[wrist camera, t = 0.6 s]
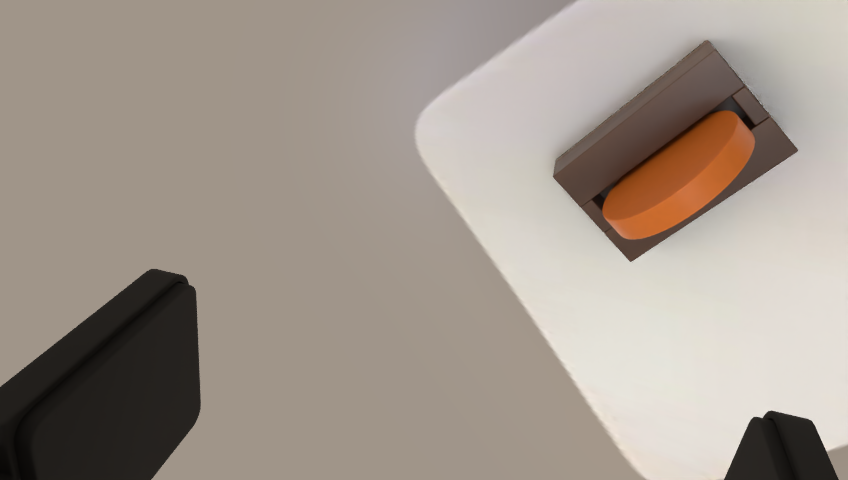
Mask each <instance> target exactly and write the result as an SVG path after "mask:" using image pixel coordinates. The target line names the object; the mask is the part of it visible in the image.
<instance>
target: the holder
mask: <svg viewBox="0 0 848 480" xmlns="http://www.w3.org/2000/svg"><path fill="white" fill-rule="evenodd" d="M724 110H726V111H732V112H734V113H736V114H737V115H738V116H739V118H740V119H741V120H742V121H743V123H744V124H745V125H746V126H747V127H748V129H749V130H750V131H751V132H752V133H753V135H754V138H755V145H754V149H753V152H752V154H751V156H750V158H749V160H748V162H747V163H746V165H745V166H744V168H743V169H742V170H741V171H740V173H739V174H738V175H737V176H736V177H735V179H734V180H733V181H732V182H731V183H730V184H729V185H728V186H727V187H726V188H725V189H724V190H723V191H722V192H721V193H720V194H718V195H717V196H716V197H715V198H714V199H713V200H711V201H710V202H709V203H708V204H706V205H705V206H704V207H703V208H701V209H700V210H698V211H697V212H696V213H694V214H693V215H691V216H690V217H688V218H687V219H685V220H683V221H682V222H680V223H678V224H676V225H675V226H673V227H671V228H669V229H667V230H665V231H663V232H660V233H658V234H655V235H652V236H649V237H646V238H642V239H626V238H623V237H622V236H620V234H619V233H618V232H617V231H616V230H615V229H614V228H613V227H612V226H611V225H610V223H609V222H608V221H607V220H606V219H605V218H604V216H603V213H602V209H603V205H604V202H605V200H606V197H607V196H608V194H609V192H610V191H611V189H612V188H613V186H614V185H615V184H616V182H617V181H618V180H619V179H620V178H621V177H622V176H623V175H625V174H626V173H627V172H629V171H630V170H631V169H633V168H634V167H635V166H637V165H638V164H639V163H641V162H642V161H643V160H645V159H646V158H648V157H649V156H650V155H652V154H653V153H654V152H656V151H657V150H658V149H660V148H661V147H662V146H664V145H665V144H667V143H668V142H669V141H671V140H672V139H673V138H675V137H676V136H677V135H679V134H680V133H681V132H683V131H684V130H685V129H687V128H688V127H690V126H691V125H692V124H694V123H695V122H696V121H698V120H699V119H700V118H702V117H703V116H705V115H707V114H710V113H714V112H718V111H724ZM797 151H798V149H797V148H796V147H795V146H794V144H793V143H792V142H791V141H790V139H789V138H788V137H787V136H786V135H785V133H784V132H783V131H782V130H781V128H780V127H779V126H778V125H777V124H776V122H775V121H774V120H773V119H772V117H771V116H770V115H769V114H768V113H767V111H766V110H765V109H764V108H763V106H762V105H761V104H760V103H759V102H758V100H757V99H756V98H755V97H754V95H753V94H752V93H751V92H750V91H749V89H748V88H747V87H746V86H745V84H744V83H743V82H742V81H741V79H740V78H739V77H738V76H737V75H736V73H735V72H734V71H733V70H732V68H731V67H730V66H729V65H728V64H727V62H726V61H725V60H724V59H723V57H722V56H721V55H720V54H719V53H718V51H717V50H716V49H715V48H714V47H713V45H712V44H711V43H710V42H709V41H708V40H706V41H705V42H704V43H702V44H701V45H700V46H699V47H697V48H696V49H695V50H694V51H692V52H691V53H690V54H689V55H687V56H686V57H685V58H684V59H682V60H681V61H680V62H679V63H677V64H676V65H675V66H674V67H672V68H671V69H670V70H668V71H667V72H666V73H665V74H663V75H662V76H661V77H660V78H658V79H657V80H656V81H655V82H653V83H652V84H651V85H650V86H648V87H647V88H646V89H645V90H643V91H642V92H641V93H640V94H638V95H637V96H636V97H635V98H633V99H632V100H631V101H630V102H628V103H627V104H626V105H624V106H623V107H622V108H621V109H619V110H618V111H617V112H616V113H614V114H613V115H612V116H611V117H609V118H608V119H607V120H606V121H604V122H603V123H602V124H601V125H599V126H598V127H597V128H596V129H594V130H593V131H592V132H591V133H589V134H588V135H587V136H585V137H584V138H583V139H582V140H580V141H579V142H578V143H577V144H575V145H574V146H573V147H572V148H570V149H569V150H568V151H567V152H565V153H564V154H563V155H562V156H560V157H559V158H558V159H557V160H556V161H555V167H554V173H553V178H554V179H555V180H556V181H557V182H558V183H559V184H560V185H561V186H562V187H563V189H564V190H565V191H566V192H567V193H568V194H569V195H570V196H571V197H572V198H573V199H574V201H575V202H576V203H577V204H578V205H579V206H580V207H581V208H582V209H583V210H584V211H585V213H586V214H587V215H588V216H589V217H590V218H591V219H592V220H593V221H594V222H595V223H596V225H597V226H598V227H599V228H600V229H601V230H602V231H603V232H604V233H605V235H606V236H607V237H608V238H609V239H610V240H611V241H612V242H613V243H614V244H615V245H616V247H617V248H618V249H619V250H620V251H621V252H622V253H623V254H624V255H625V256H626V258H627V259H628V260H629V261H630V262H632V261H633V260H635V259H636V258H638V257H639V256H641V255H642V254H644V253H645V252H647V251H648V250H650V249H651V248H653V247H654V246H656V245H657V244H659V243H660V242H662V241H663V240H665V239H666V238H668V237H669V236H671V235H672V234H674V233H675V232H677V231H678V230H680V229H681V228H683V227H684V226H686V225H687V224H689V223H690V222H692V221H693V220H695V219H696V218H698V217H699V216H701V215H702V214H704V213H705V212H707V211H708V210H710V209H711V208H713V207H714V206H716V205H717V204H719V203H720V202H722V201H724V200H725V199H727V198H728V197H730V196H731V195H733V194H734V193H736V192H737V191H739V190H740V189H742V188H743V187H745V186H746V185H748V184H749V183H751V182H752V181H754V180H755V179H757V178H758V177H760V176H761V175H763V174H764V173H766V172H767V171H769V170H770V169H772V168H773V167H775V166H776V165H778V164H779V163H781V162H782V161H784V160H785V159H787V158H788V157H790V156H791V155H793V154H794V153H796V152H797Z"/></svg>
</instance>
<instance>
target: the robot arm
mask: <svg viewBox="0 0 848 480" xmlns="http://www.w3.org/2000/svg"><path fill="white" fill-rule="evenodd" d="M200 403H201V402H200V378H199V353H198V328H197V305H196V291H195V288H194V287H192V286H190V285H189V284H188V280H187V278H186V277H185V276H183V275H179V274H175V273H171V272H166V271H162V270H158V269H151V270H149V271H147V272H146V273H144V274H143V275H142V276H140V277H139V278H138V279H137V280H135V281H134V282H133V283H132V284H130V285H129V286H128V287H127V288H125V289H124V290H123V291H121V292H120V293H119V294H118V295H116V296H115V297H114V298H113V299H111V300H110V301H109V302H108V303H106V304H105V305H104V306H103V307H101V308H100V309H99V310H97V311H96V312H95V313H93V314H92V315H91V316H90V317H88V318H87V319H86V320H85V321H83V322H82V323H81V324H80V325H78V326H77V327H76V328H74V329H73V330H72V331H71V332H69V333H68V334H67V335H66V336H64V337H63V338H62V339H61V340H59V341H58V342H57V343H56V344H54V345H53V346H52V347H50V348H49V349H48V350H47V351H45V352H44V353H43V354H41V355H40V356H39V357H38V358H36V359H35V360H34V361H33V362H31V363H30V364H29V365H28V366H26V367H25V368H24V369H22V370H21V371H20V372H19V373H17V374H16V375H15V376H14V377H12V378H11V379H10V380H9V381H7V382H6V383H5V384H3V385H2V386H1V387H0V480H151V479H152V478H153V477H154V475H155V474H156V473H157V472H158V470H159V469H160V468H161V467H162V465H163V464H164V463H165V461H166V460H167V459H168V457H169V456H170V455H171V454H172V453H173V451H174V450H175V449H176V448H177V446H178V445H179V443H180V442H181V441H182V440H183V439H184V437H185V436H186V435H187V434H188V432H189V431H190V430H191V428H192V427H193V426H194V424H195V422H196V420H197V418H198V416H199V412H200ZM724 480H839V479H838V477H837V475H836V473H835V470H834V468H833V466H832V464H831V461H830V459H829V457H828V455H827V452H826V450H825V448H824V445H823V443H822V441H821V439H820V436H819V434H818V432H817V430H816V427H815V425H814V424H813V422H812V421H811V420H809V419H805V418H801V417H797V416H792V415H788V414H784V413H779V412H775V411H768V412H767V413H766V414H765V415H764V417H763V418H759V417H753V418H752V419H751V421H750V422H749V424H748V427H747V429H746V431H745V433H744V436H743V438H742V440H741V442H740V445H739V447H738V449H737V452H736V454H735V456H734V458H733V461H732V463H731V465H730V467H729V470H728V472H727V474H726V477H725V479H724Z"/></svg>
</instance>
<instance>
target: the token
mask: <svg viewBox="0 0 848 480" xmlns="http://www.w3.org/2000/svg"><path fill="white" fill-rule="evenodd" d="M754 145H755V138H754V135H753V133H752V132H751V131H750V130H749V129H748V127H747V126H746V125H745V124H744V123H743V121H742V120H741V119H740V118H739V116H738V115H737V114H736V113H734V112H732V111H726V110H724V111H718V112H714V113H710V114H707V115H705V116H703V117H702V118H700V119H699V120H698V121H696V122H695V123H694V124H692V125H691V126H690V127H688V128H687V129H685V130H684V131H683V132H681V133H680V134H679V135H677V136H676V137H675V138H673V139H672V140H671V141H669V142H668V143H667V144H665V145H664V146H662V147H661V148H660V149H658V150H657V151H656V152H654V153H653V154H652V155H650V156H649V157H648V158H646V159H645V160H643V161H642V162H641V163H639V164H638V165H637V166H635V167H634V168H633V169H631V170H630V171H629V172H627V173H626V174H625V175H623V176H622V177H621V178H620V179H619V180H618V181H617V182H616V184H615V185H614V186H613V188H612V189H611V191H610V192H609V194H608V196H607V197H606V200H605V202H604V205H603V209H602V213H603V216H604V218H605V219H606V220H607V221H608V222H609V223H610V225H611V226H612V227H613V228H614V229H615V230H616V231H617V232H618V233H619V234H620V236H622V237H623V238H626V239H642V238H646V237H649V236H652V235H655V234H658V233H660V232H663V231H665V230H667V229H669V228H671V227H673V226H675V225H676V224H678V223H680V222H682V221H683V220H685V219H687V218H688V217H690V216H691V215H693V214H694V213H696V212H697V211H698V210H700V209H701V208H703V207H704V206H705V205H706V204H708V203H709V202H710V201H711V200H713V199H714V198H715V197H716V196H717V195H718V194H720V193H721V192H722V191H723V190H724V189H725V188H726V187H727V186H728V185H729V184H730V183H731V182H732V181H733V180H734V179H735V177H736V176H737V175H738V174H739V173H740V171H741V170H742V169H743V168H744V166H745V165H746V163H747V162H748V160H749V158H750V156H751V154H752V152H753V149H754Z"/></svg>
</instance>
